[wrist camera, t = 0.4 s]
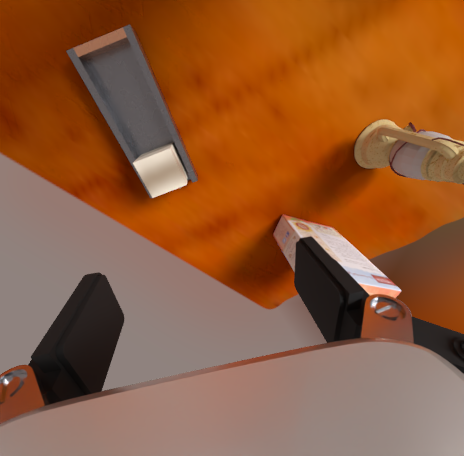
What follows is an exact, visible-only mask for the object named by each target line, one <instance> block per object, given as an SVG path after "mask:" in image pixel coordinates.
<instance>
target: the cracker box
mask: <svg viewBox="0 0 464 456" xmlns="http://www.w3.org/2000/svg"><path fill="white" fill-rule="evenodd" d="M273 236H274V238H275V240H276V241H277V243H278V245H279V246H280V248H281V250H282V252H283V253H284V255H285V257H286V258H287V260H288V262H289V263H290V265H291V267H292V269H293V270H294V272H295V252H296V242H297V241H299V239H300V238H304V237H310V236H312V237H313V238H314V239H315V240H316V241H317V242H318V243H319V244H320V245H321V247H322V248H323V249H324V250H325V251H326V252H327V253H328V254H329V255H330V256H331V257H332V258H333V259H335V260H336V261H337V262H338V263H339V264H340V265H341V266H342V267H343V268H344V269H345V270H346V271H347V272H348V273H349V274H350V275H351V276H352V277H353V278H354V279H355V280H356V281H357V282H358V284H359V285H360V286H361V287H362V288H363V289H364V290H365V291H366V292H367V293H368V294H369V295H370V296H371V295H374V294H383V295H388V296H391V297H394V298H396V296H398V294H399V293H400V292H401V290H400V289H399V288H398V287H397V286H396V285H395V284H394V283H393V282H392V281H391V280H390V279H389V278H387V277H386V276H385V275H384V274H383V273H382V272H381V271H380V270H379V269H378V268H376V267H375V266H374V265H373V264H372V263H371V262H370V261H369V260H368V259H367V258H366V257H365V256H363V255H362V254H361V253H360V252H359V251H358V250H357V249H356V248H355V247H354V246H353V245H351V244H350V243H349V242H348V241H347V240H346V239H345V238H344V237H343V236H342V235H341V234H340V233H338V232H337V231H336V230H335V229H334V228H333V227H329V226H325V225H322V224H318V223H314V222H310V221H306V220H303V219H299V218H295V217H291V216H287V215H282V217H281V219H280V221H279V223H278V225H277V227H276V229H275V231H274V233H273Z"/></svg>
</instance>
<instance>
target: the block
mask: <svg viewBox="0 0 464 456" xmlns="http://www.w3.org/2000/svg"><path fill="white" fill-rule="evenodd" d="M133 164H134V166H135V168H136V170H137V171H138V173H139V175H140V177H141V179H142V180H143V182H144V184H145V186H146V187H147V189H148V191H149V193H150V194H151V196H152V198H154V197H157V196H159V195H162V194H164V193H167V192H170V191H172V190H175V189H178V188H180V187H183V186H185V185H187V179H188V174H187V172H186V169H185V167H184V165H183V163H182V160H181V158H180V156H179V154H178V152H177V149H176V147H175V145H174V143H173V142H172V143H170V144H167V145H165V146H162V147H160V148H157V149H154V150H152V151H149V152H147V153H144V154H142V155H140V156H139V157H138V158H137V159H136V160H135V161H134V162H133Z"/></svg>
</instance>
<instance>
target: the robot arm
mask: <svg viewBox="0 0 464 456" xmlns="http://www.w3.org/2000/svg"><path fill="white" fill-rule="evenodd" d="M294 284H295V288H296V290H297V292H298V293H299V295H300V297H301V298H302V300H303V302H304V304H305V305H306V307H307V309H308V310H309V312H310V314H311V315H312V317H313V319H314V321H315V322H316V324H317V326H318V328H319V329H320V331H321V333H322V334H323V336H324V338H325V339H326V341H327V343H325V344H320V345H314V346H309V347H304V348H299V349H295V350H290V351H285V352H280V353H275V354H271V355H266V356H261V357H256V358H252V359H247V360H242V361H237V362H233V363H228V364H224V365H219V366H214V367H210V368H205V369H201V370H196V371H191V372H187V373H182V374H178V375H173V376H168V377H164V378H159V379H155V380H150V381H146V382H141V383H137V384H132V385H128V386H123V387H119V388H114V389H110V390H105V391H102V388H103V385H104V382H105V379H106V375H107V372H108V369H109V366H110V363H111V360H112V357H113V354H114V351H115V348H116V345H117V341H118V339H119V336H120V332H121V329H122V326H123V323H124V314H123V312H122V310H121V308H120V306H119V304H118V301H117V300H116V297H115V295H114V293H113V291H112V288H111V287H110V284H109V282H108V280H107V278H106V276H105V275H102V274H101V273H93V274H87V275H85V276H84V277H83V278H82V280H81V281H80V283H79V284H78V286H77V288H76V289H75V291H74V292H73V294H72V295H71V297H70V298H69V300H68V301H67V303H66V304H65V306H64V307H63V309H62V310H61V312H60V314H59V315H58V316H57V318H56V320H55V321H54V322H53V324H52V325H51V327H50V328H49V330H48V332H47V333H46V335H45V336H44V338H43V339H42V341H41V342H40V344H39V345H38V347H37V348H36V350H35V351H34V353H33V355H32V356H31V358H32V360H31V361H30V363H29V365H20V366H16V367H14V368H11V369H9V370H7V371H5V372H4V373H2V374H1V375H0V456H464V334H461V333H458V332H456V331H452V330H449V329H447V328H443V327H440V326H438V325H435V324H432V323H429V322H426V321H423V320H420V319H417V318H415V317H412V316H411V312H410V310H409V309H408V307H407V306H406V305H405V304H404V303H402V302H401V301H399V300H398V299H396V298H394V297H391V296H388V295H383V294H374V295H371V296H370V295H369V294H368V293H367V292H366V291H365V290H364V289H363V288H362V287H361V286H360V285H359V284H358V282H357V281H356V280H355V279H354V278H353V277H352V276H351V275H350V274H349V273H348V272H347V271H346V270H345V269H344V268H343V267H342V266H341V265H340V264H339V263H338V262H337V261H336V260H335V259H333V258H332V257H331V256H330V255H329V254H328V253H327V252H326V251H325V250H324V249H323V248H322V247H321V245H320V244H319V243H318V242H317V241H316V240H315V239H314V238H313V237H312V236H310V237H304V238H300V239H299V241H297V242H296V252H295V278H294Z"/></svg>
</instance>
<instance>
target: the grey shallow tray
mask: <svg viewBox="0 0 464 456" xmlns="http://www.w3.org/2000/svg"><path fill="white" fill-rule="evenodd" d="M66 52H67V53H68V55H69V57H70V59H71V60H72V62H73V64H74V66H75V67H76V69H77V71H78V73H79V74H80V76H81V78H82V79H83V81H84V83H85V85H86V86H87V88H88V90H89V92H90V93H91V95H92V97H93V99H94V100H95V102H96V104H97V106H98V107H99V109H100V111H101V113H102V114H103V116H104V118H105V120H106V121H107V123H108V125H109V127H110V128H111V130H112V132H113V133H114V135H115V137H116V139H117V140H118V142H119V144H120V146H121V147H122V149H123V151H124V153H125V154H126V156H127V158H128V160H129V161H130V163H131V165H132V167H133V168H134V170H135V172H136V174H137V175H138V177H139V179H140V180H141V182H142V184H143V186H144V187H145V189H146V191H147V193H148V194H149V196H150V198H152V196H151V194H150V193H149V191H148V189H147V187H146V186H145V184H144V182H143V180H142V179H141V177H140V175H139V173H138V171H137V170H136V168H135V166H134V164H133V162H134V161H135V160H136V159H137V158H138V157H139V156H140V155H142V154H144V153H147V152H149V151H152V150H154V149H157V148H160V147H162V146H165V145H167V144H170V143H172V142H173V143H174V145H175V147H176V149H177V152H178V154H179V156H180V158H181V160H182V163H183V165H184V167H185V169H186V172H187V174H188V179H187V180H190V179H191V180H192V182H195V181H198V175H197V173H196V171H195V168H194V166H193V164H192V161H191V159H190V157H189V154H188V152H187V150H186V147H185V145H184V143H183V140H182V138H181V136H180V133H179V131H178V129H177V126H176V124H175V122H174V119H173V117H172V115H171V112H170V110H169V108H168V105H167V103H166V101H165V98H164V96H163V94H162V91H161V89H160V87H159V84H158V82H157V80H156V77H155V75H154V73H153V70H152V68H151V66H150V63H149V61H148V59H147V57H146V54H145V52H144V50H143V47H142V45H141V43H140V40H139V38H138V36H137V33H136V31H135V30H134V29H133V27H132V26H131V25H127V26H125V27H122V28H120V29H118V30H115V31H113V32H110V33H108V34H106V35H103V36H101V37H98V38H96V39H94V40H91V41H89V42H86V43H84V44H82V45H79V46H77V47H74V48H72V49H70V50H67V51H66Z"/></svg>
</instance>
